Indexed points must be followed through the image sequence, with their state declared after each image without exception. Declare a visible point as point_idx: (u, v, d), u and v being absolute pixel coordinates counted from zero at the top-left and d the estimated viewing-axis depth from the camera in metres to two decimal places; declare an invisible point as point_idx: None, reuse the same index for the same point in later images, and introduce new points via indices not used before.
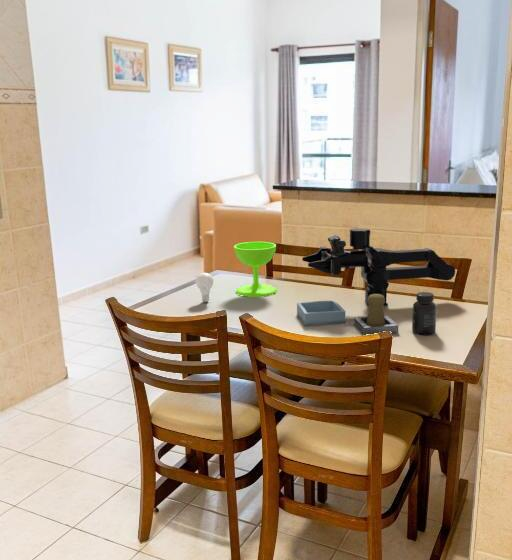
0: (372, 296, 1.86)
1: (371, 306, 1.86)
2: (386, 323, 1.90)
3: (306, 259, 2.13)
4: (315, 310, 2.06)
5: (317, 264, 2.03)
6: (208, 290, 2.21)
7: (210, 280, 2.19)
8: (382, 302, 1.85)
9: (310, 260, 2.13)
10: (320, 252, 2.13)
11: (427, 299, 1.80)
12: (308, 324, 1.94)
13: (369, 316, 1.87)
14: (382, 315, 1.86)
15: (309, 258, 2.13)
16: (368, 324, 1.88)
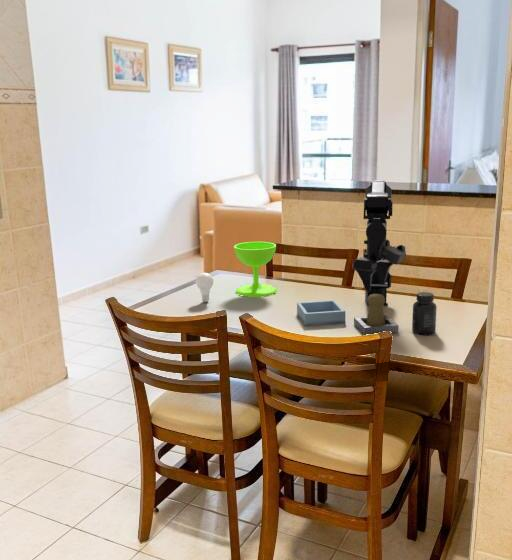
0: (372, 296, 1.86)
1: (371, 306, 1.86)
2: (386, 323, 1.90)
3: None
4: (315, 310, 2.06)
5: None
6: (208, 290, 2.21)
7: (210, 280, 2.19)
8: (382, 302, 1.85)
9: None
10: None
11: (427, 299, 1.80)
12: (308, 324, 1.94)
13: (369, 316, 1.87)
14: (382, 315, 1.86)
15: None
16: (368, 324, 1.88)
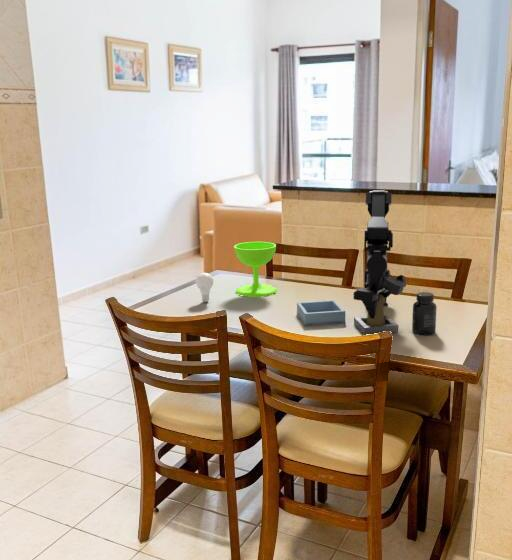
0: None
1: None
2: (386, 323, 1.90)
3: None
4: (315, 310, 2.06)
5: None
6: (208, 290, 2.21)
7: (210, 280, 2.19)
8: (382, 302, 1.85)
9: None
10: None
11: (427, 299, 1.80)
12: (308, 324, 1.94)
13: (369, 316, 1.87)
14: (382, 315, 1.86)
15: None
16: (368, 324, 1.88)
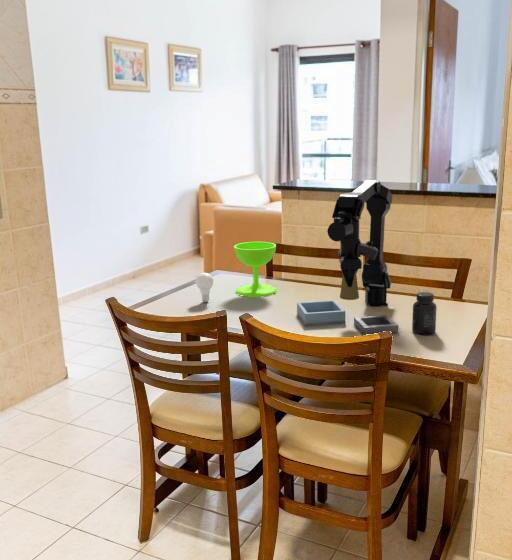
0: None
1: None
2: (386, 323, 1.90)
3: None
4: (315, 310, 2.06)
5: None
6: (208, 290, 2.21)
7: (210, 280, 2.19)
8: None
9: None
10: None
11: (427, 299, 1.80)
12: (308, 324, 1.94)
13: (346, 285, 1.89)
14: None
15: None
16: (345, 293, 1.90)
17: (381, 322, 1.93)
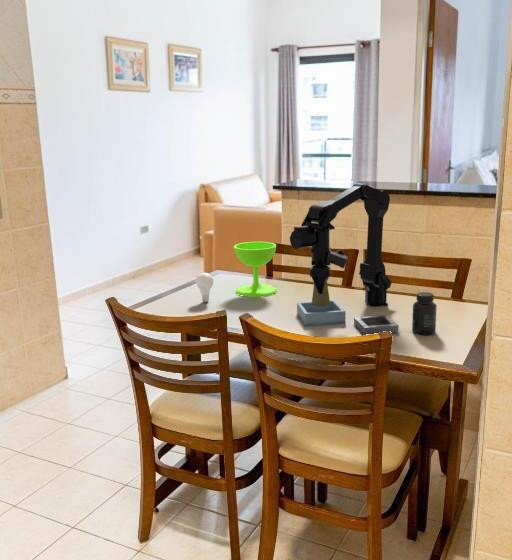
0: None
1: None
2: (386, 323, 1.90)
3: None
4: (315, 310, 2.06)
5: None
6: (208, 290, 2.21)
7: (210, 280, 2.19)
8: (328, 277, 1.96)
9: None
10: None
11: (427, 299, 1.80)
12: (308, 324, 1.94)
13: (317, 292, 1.97)
14: (327, 289, 1.98)
15: None
16: (316, 300, 1.97)
17: (381, 322, 1.93)
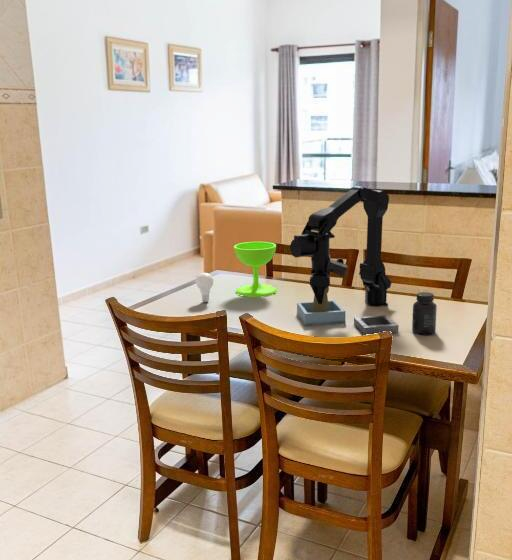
0: None
1: None
2: (386, 323, 1.90)
3: None
4: None
5: None
6: (208, 290, 2.21)
7: (210, 280, 2.19)
8: (328, 289, 1.98)
9: None
10: None
11: (427, 299, 1.80)
12: (308, 324, 1.94)
13: (317, 304, 1.98)
14: (327, 302, 1.99)
15: None
16: None
17: (381, 322, 1.93)
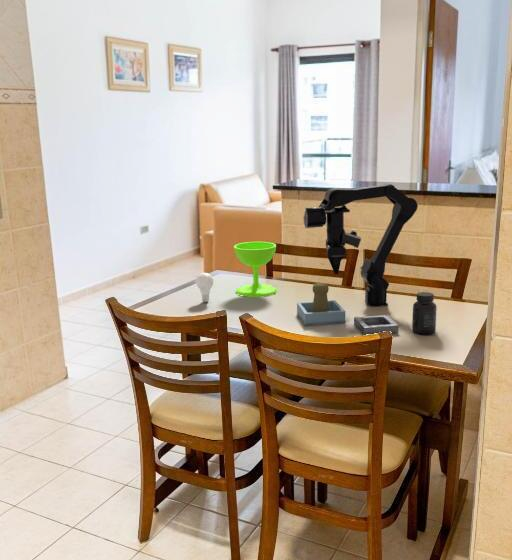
0: (319, 285, 1.97)
1: (318, 295, 1.97)
2: (386, 323, 1.90)
3: None
4: None
5: None
6: (208, 290, 2.21)
7: (210, 280, 2.19)
8: (328, 289, 1.98)
9: None
10: None
11: (427, 299, 1.80)
12: (308, 324, 1.94)
13: (317, 304, 1.98)
14: (327, 302, 1.99)
15: None
16: None
17: (381, 322, 1.93)
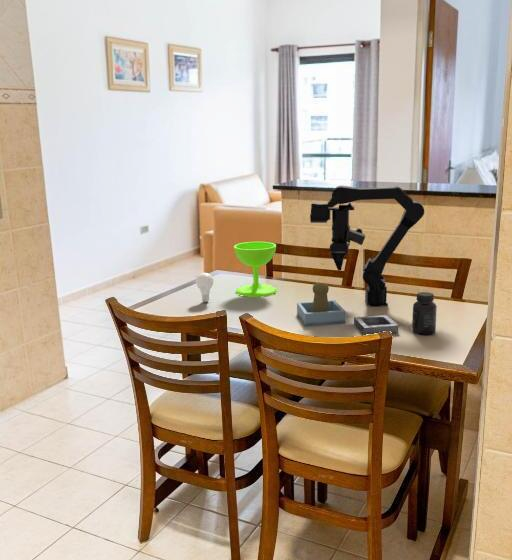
0: (319, 285, 1.97)
1: (318, 295, 1.97)
2: (386, 323, 1.90)
3: None
4: None
5: None
6: (208, 290, 2.21)
7: (210, 280, 2.19)
8: (328, 289, 1.98)
9: None
10: None
11: (427, 299, 1.80)
12: (308, 324, 1.94)
13: (317, 304, 1.98)
14: (327, 302, 1.99)
15: None
16: None
17: (381, 322, 1.93)
